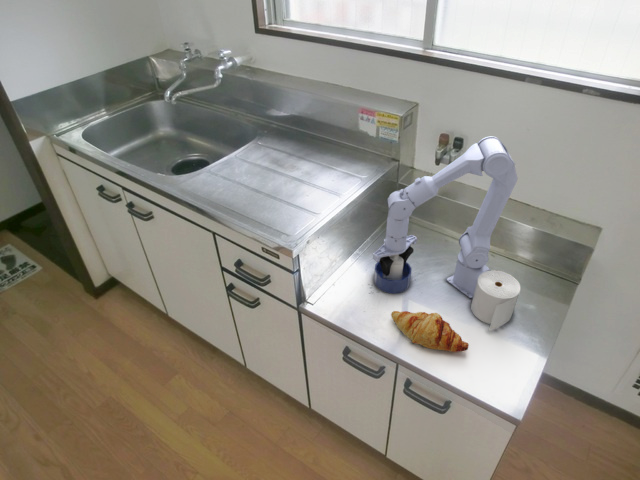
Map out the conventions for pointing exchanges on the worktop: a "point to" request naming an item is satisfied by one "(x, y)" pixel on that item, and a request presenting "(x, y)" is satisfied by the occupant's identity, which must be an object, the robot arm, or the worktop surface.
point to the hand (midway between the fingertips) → (393, 270)
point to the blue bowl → (392, 285)
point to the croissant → (429, 331)
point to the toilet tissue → (495, 298)
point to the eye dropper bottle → (395, 268)
